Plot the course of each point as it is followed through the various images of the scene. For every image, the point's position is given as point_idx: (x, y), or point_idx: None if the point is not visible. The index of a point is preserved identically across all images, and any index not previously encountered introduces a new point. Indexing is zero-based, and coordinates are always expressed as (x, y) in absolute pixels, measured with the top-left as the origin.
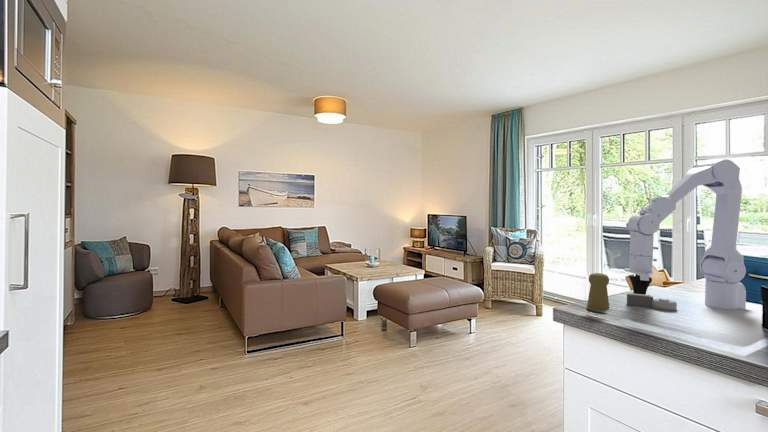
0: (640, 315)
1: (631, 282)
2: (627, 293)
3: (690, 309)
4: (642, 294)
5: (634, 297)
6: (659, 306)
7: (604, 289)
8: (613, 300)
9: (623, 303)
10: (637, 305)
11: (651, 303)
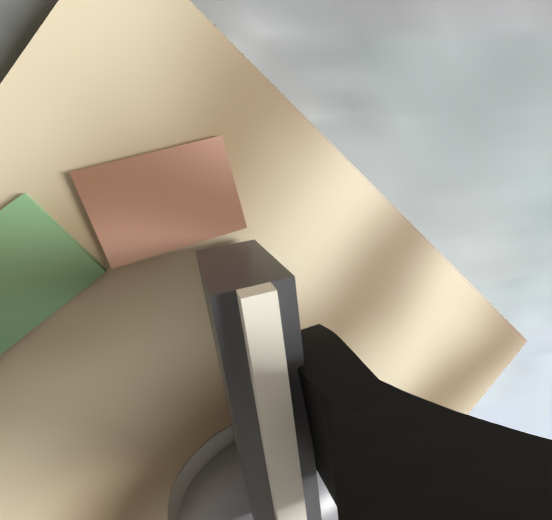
0: None
1: (479, 486)
2: (238, 301)
3: None
4: (270, 480)
5: (222, 369)
6: None
7: None
8: (499, 88)
9: (424, 181)
10: (215, 345)
11: (240, 472)
